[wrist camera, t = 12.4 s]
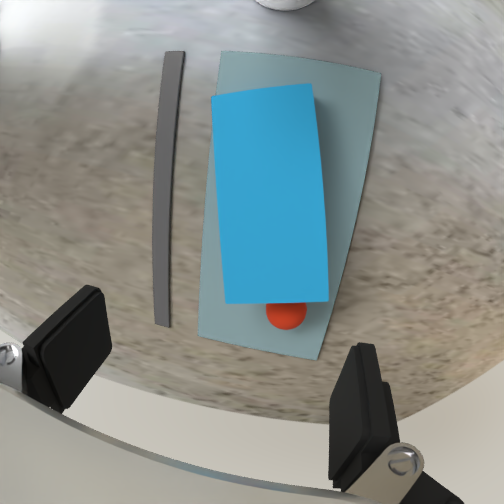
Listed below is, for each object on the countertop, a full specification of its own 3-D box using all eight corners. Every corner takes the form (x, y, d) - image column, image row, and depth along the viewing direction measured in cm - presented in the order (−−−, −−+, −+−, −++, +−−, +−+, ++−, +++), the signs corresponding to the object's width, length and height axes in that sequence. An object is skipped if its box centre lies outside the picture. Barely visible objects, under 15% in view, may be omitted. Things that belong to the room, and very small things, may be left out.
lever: (236, 122, 27) (251, 322, 29) (211, 96, 20) (230, 353, 22) (314, 114, 25) (328, 321, 27) (311, 83, 19) (329, 353, 20)
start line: (166, 52, 22) (165, 51, 21) (184, 51, 21) (183, 51, 21) (156, 322, 32) (155, 323, 32) (170, 326, 32) (168, 327, 32)
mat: (222, 52, 21) (221, 50, 21) (380, 74, 20) (381, 73, 19) (199, 333, 32) (197, 335, 31) (316, 357, 30) (316, 360, 30)
